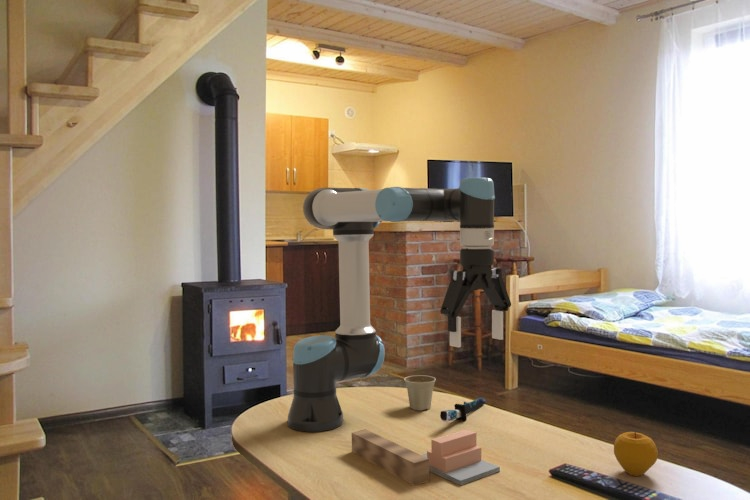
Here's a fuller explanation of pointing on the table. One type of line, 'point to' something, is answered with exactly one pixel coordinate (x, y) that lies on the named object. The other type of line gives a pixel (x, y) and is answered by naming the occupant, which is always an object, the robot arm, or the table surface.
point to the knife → (462, 410)
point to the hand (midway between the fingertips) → (477, 342)
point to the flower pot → (420, 391)
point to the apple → (635, 452)
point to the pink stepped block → (458, 458)
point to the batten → (391, 456)
